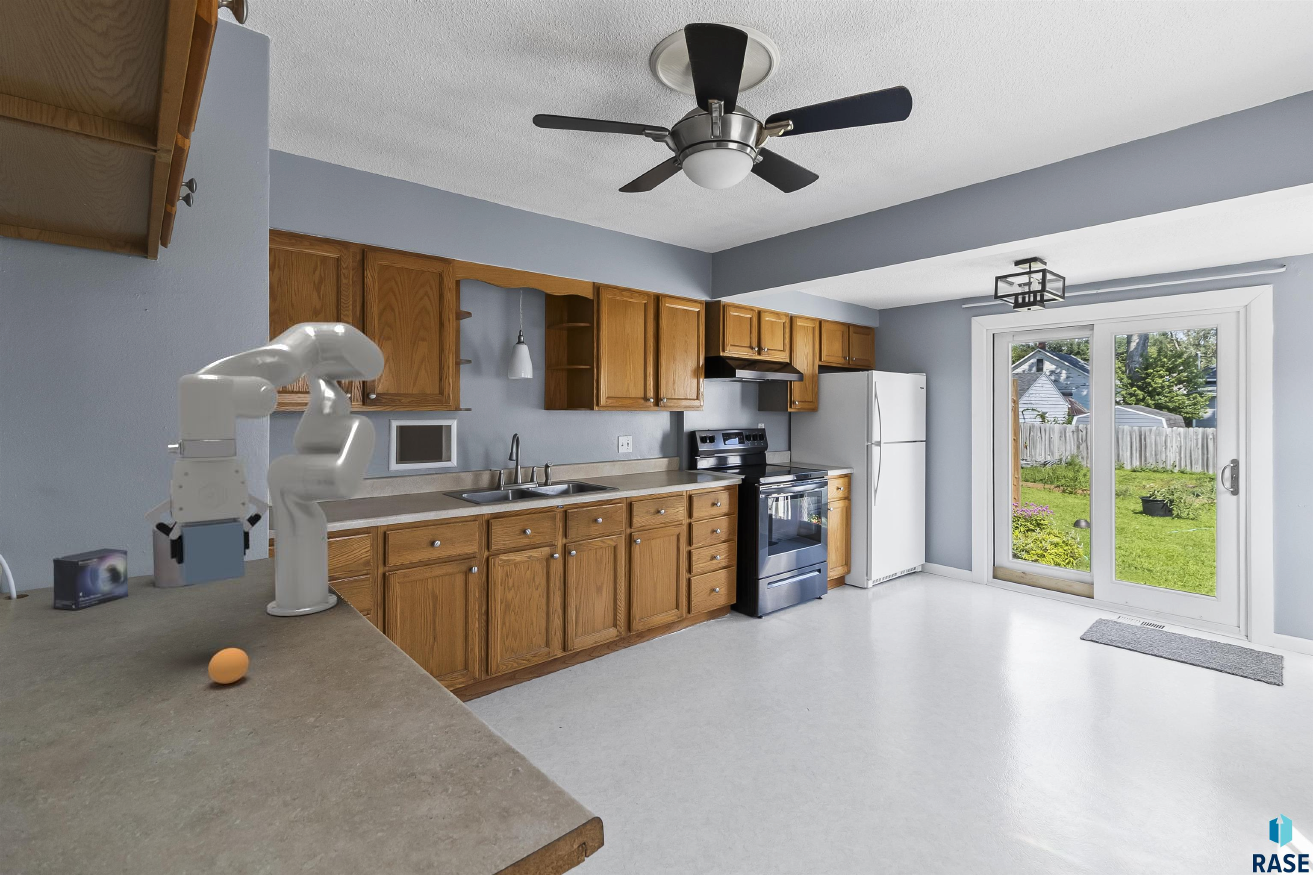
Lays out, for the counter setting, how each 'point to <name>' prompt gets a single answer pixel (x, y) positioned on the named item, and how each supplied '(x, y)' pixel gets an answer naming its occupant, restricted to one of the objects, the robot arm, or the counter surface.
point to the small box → (90, 578)
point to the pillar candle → (164, 562)
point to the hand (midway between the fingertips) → (211, 557)
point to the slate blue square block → (212, 551)
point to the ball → (228, 665)
